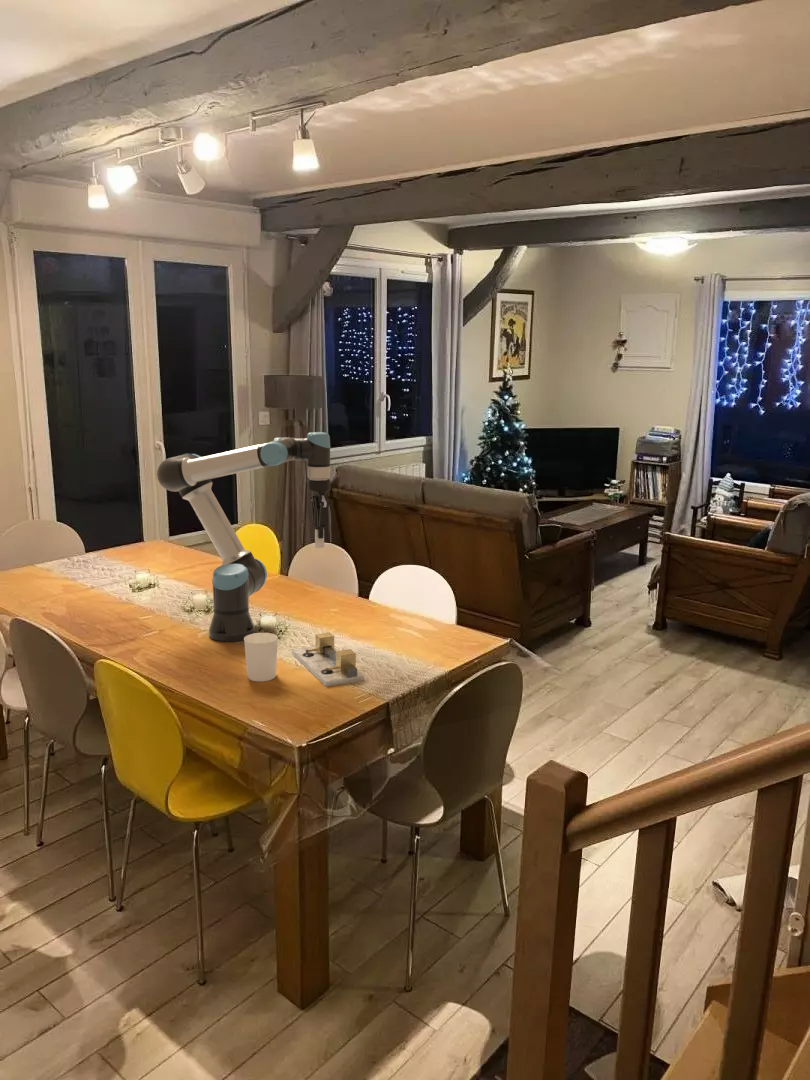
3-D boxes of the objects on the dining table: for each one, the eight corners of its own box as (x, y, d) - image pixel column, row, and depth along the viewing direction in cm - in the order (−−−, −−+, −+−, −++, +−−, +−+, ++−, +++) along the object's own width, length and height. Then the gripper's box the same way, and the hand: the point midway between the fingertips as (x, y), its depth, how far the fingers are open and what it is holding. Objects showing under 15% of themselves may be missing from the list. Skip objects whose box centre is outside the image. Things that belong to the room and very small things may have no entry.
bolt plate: (326, 686, 236) (326, 664, 235) (292, 653, 262) (291, 633, 261) (364, 680, 242) (364, 658, 240) (327, 648, 268) (327, 628, 266)
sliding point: (307, 654, 256) (307, 639, 255) (303, 650, 260) (303, 635, 259) (334, 651, 260) (334, 635, 259) (329, 647, 264) (329, 632, 263)
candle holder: (280, 670, 248) (279, 632, 245) (276, 682, 238) (275, 643, 236) (247, 670, 248) (246, 632, 245) (242, 682, 238) (241, 643, 235)
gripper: (336, 480, 272) (336, 550, 277) (323, 475, 284) (323, 542, 288) (314, 481, 269) (315, 552, 274) (302, 476, 281) (303, 544, 285)
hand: (319, 547), depth 281 cm, fingers closed
